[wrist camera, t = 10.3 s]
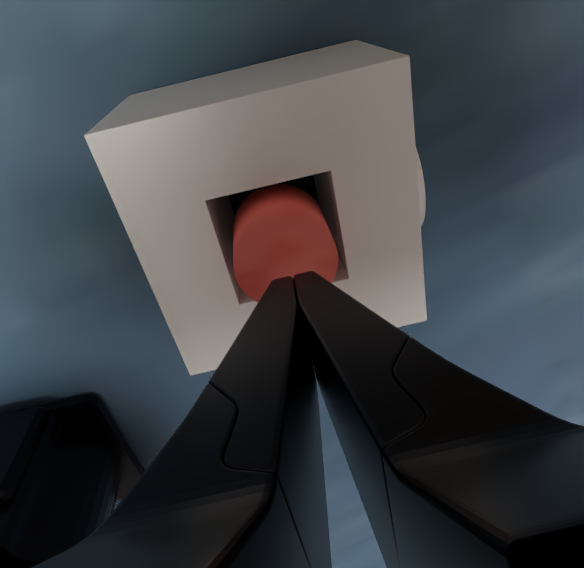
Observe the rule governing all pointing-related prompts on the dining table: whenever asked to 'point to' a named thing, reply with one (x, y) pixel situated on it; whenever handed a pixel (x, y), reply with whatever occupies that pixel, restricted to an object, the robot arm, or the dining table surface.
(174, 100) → the white button housing
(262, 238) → the button
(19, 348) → the dining table surface
